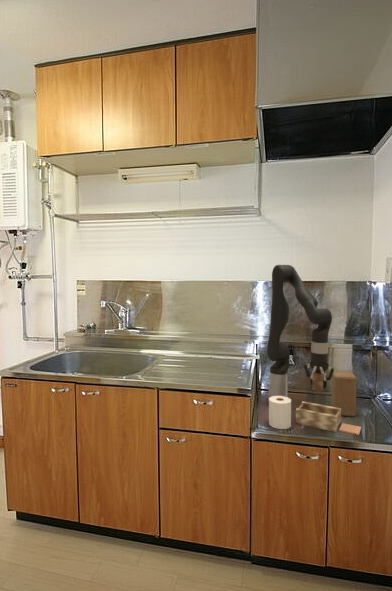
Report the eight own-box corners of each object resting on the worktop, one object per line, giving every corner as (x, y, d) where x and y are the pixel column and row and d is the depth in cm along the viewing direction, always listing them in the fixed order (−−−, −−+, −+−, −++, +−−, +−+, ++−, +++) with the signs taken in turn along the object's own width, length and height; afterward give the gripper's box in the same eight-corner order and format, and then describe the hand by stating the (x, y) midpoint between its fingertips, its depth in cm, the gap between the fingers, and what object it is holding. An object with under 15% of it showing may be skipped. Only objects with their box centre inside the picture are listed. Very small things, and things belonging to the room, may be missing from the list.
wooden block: (356, 417, 170) (357, 377, 168) (334, 415, 172) (335, 376, 170) (351, 409, 179) (352, 371, 178) (330, 408, 181) (331, 370, 180)
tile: (339, 430, 155) (339, 429, 155) (342, 424, 162) (342, 423, 162) (358, 435, 151) (359, 433, 151) (361, 428, 158) (361, 426, 158)
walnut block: (312, 389, 162) (312, 372, 161) (314, 386, 166) (315, 370, 165) (322, 391, 159) (322, 374, 159) (324, 388, 164) (325, 371, 163)
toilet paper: (266, 419, 168) (267, 395, 167) (288, 420, 167) (288, 395, 166) (270, 429, 157) (270, 403, 157) (293, 429, 157) (293, 403, 156)
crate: (295, 423, 163) (295, 409, 163) (302, 414, 174) (302, 401, 173) (336, 432, 154) (336, 417, 153) (340, 422, 164) (341, 408, 164)
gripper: (301, 351, 162) (301, 386, 163) (334, 354, 155) (333, 392, 156) (306, 347, 168) (305, 382, 170) (337, 351, 161) (336, 387, 162)
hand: (318, 386), depth 163 cm, fingers closed on walnut block, 4 cm apart
